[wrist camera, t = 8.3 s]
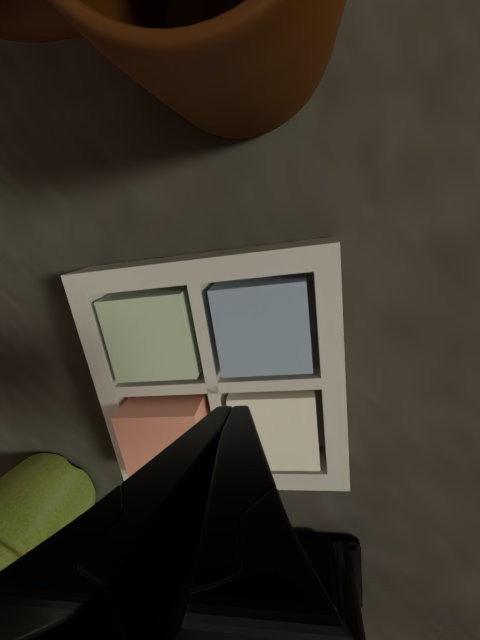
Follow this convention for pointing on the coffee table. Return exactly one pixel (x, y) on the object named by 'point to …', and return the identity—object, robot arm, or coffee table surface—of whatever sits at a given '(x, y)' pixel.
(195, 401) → the key coral
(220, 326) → the key slate
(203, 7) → the mug
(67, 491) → the plant pot
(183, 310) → the key sage
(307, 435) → the key cream
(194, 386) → the keypad
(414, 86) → the coffee table surface
